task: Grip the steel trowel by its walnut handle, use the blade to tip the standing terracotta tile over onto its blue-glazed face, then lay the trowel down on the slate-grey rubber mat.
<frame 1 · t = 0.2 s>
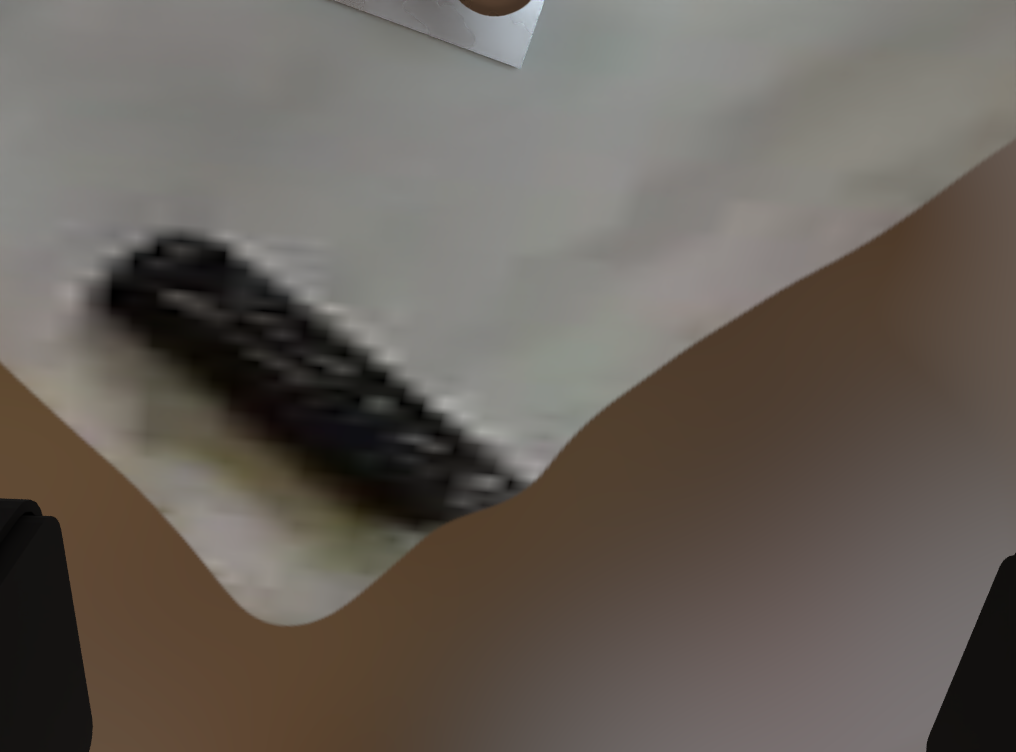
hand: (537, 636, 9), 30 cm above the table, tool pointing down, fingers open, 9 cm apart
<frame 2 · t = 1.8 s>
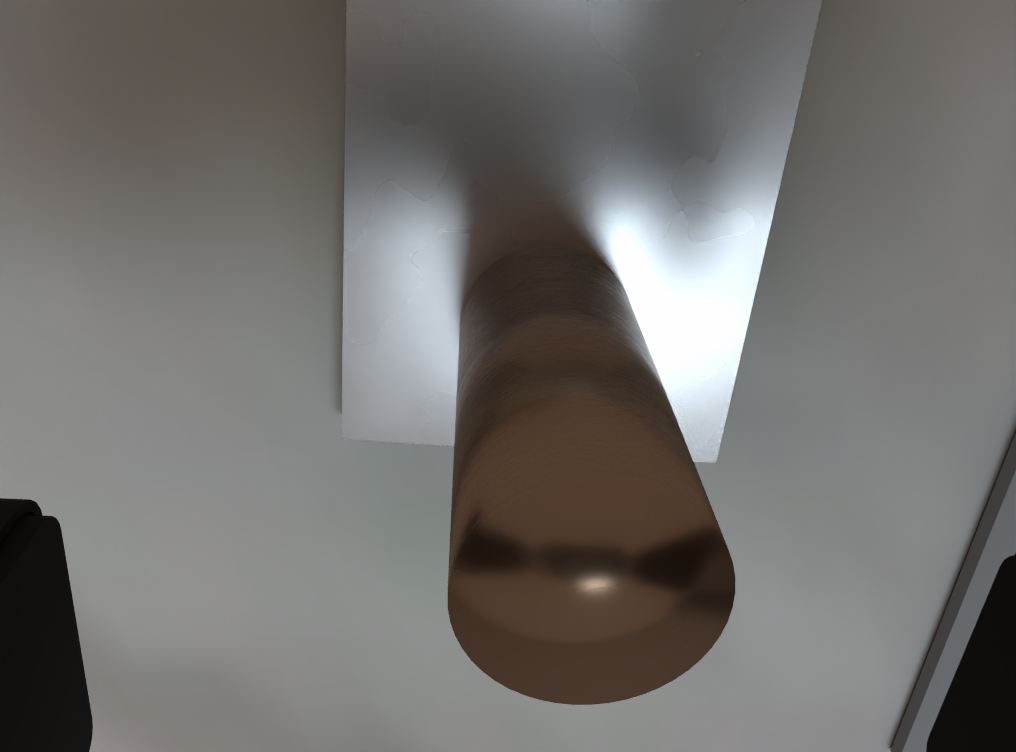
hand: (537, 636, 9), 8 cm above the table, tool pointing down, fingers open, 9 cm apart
trowel: (558, 170, 15), on the table
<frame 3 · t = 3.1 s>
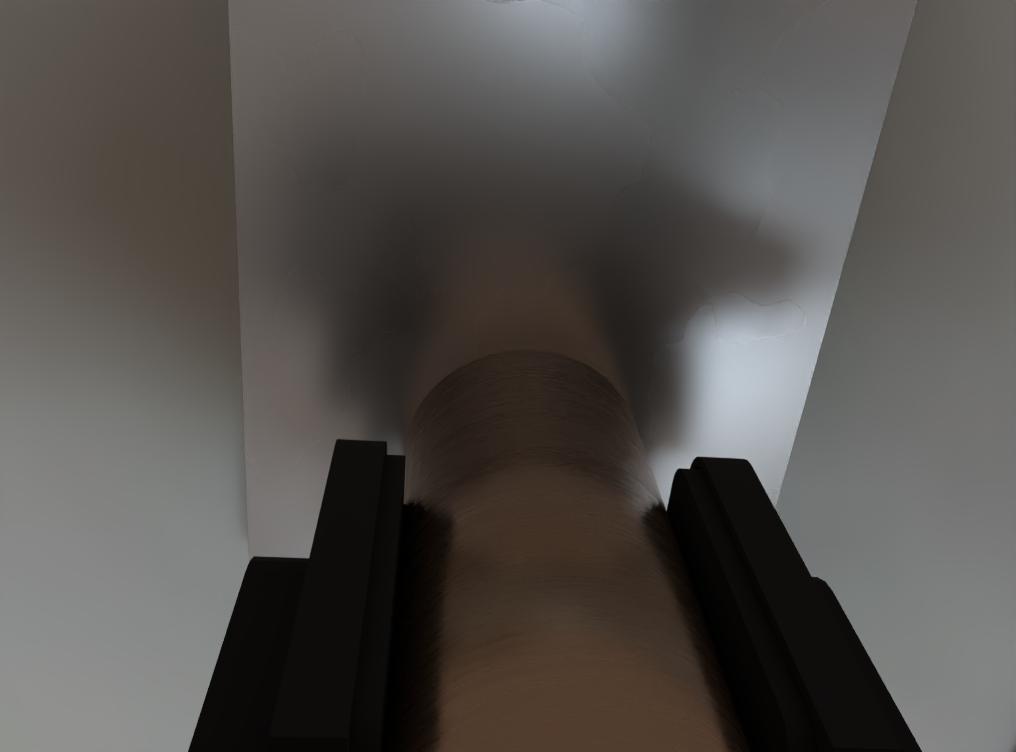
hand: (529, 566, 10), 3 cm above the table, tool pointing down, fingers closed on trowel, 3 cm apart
trowel: (538, 244, 11), on the table, touching gripper
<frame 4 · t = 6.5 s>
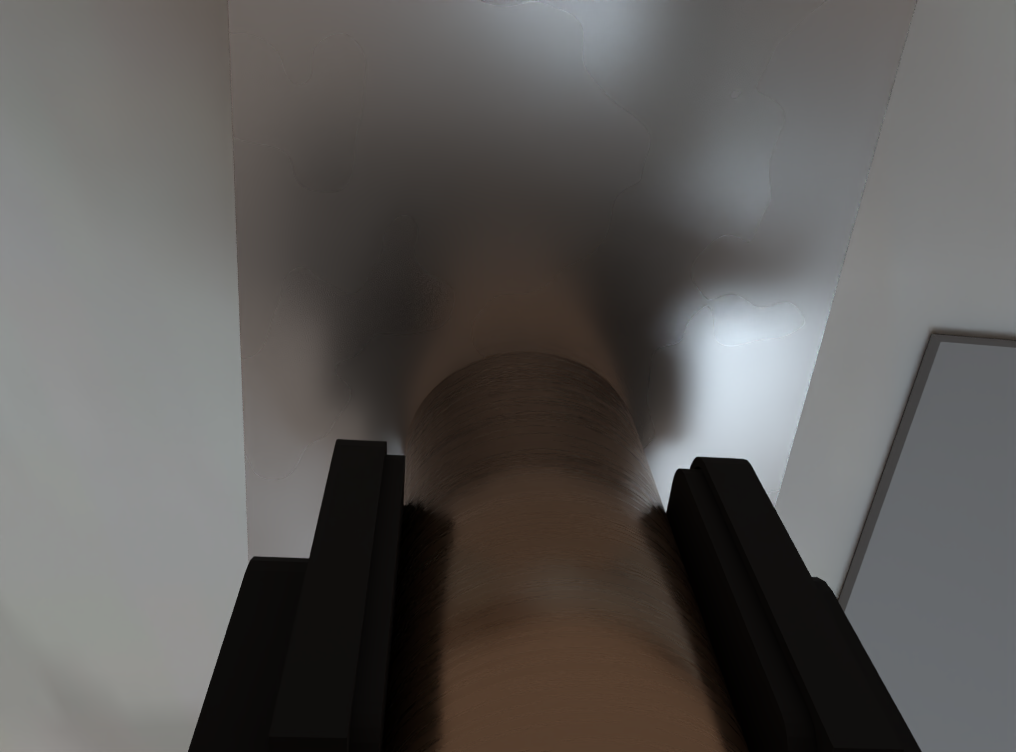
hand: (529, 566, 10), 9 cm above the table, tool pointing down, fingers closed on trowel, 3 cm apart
trowel: (537, 246, 11), point 6 cm above the table, touching gripper
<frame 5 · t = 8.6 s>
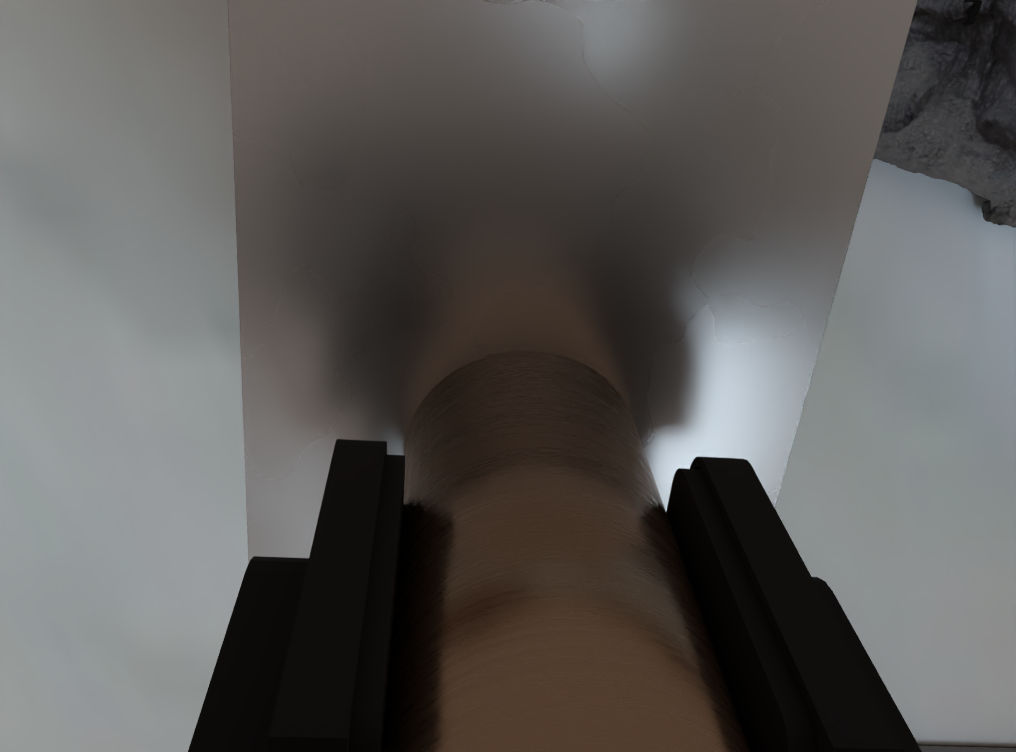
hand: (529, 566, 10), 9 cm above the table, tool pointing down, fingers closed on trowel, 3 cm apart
trowel: (537, 245, 11), point 6 cm above the table, touching gripper
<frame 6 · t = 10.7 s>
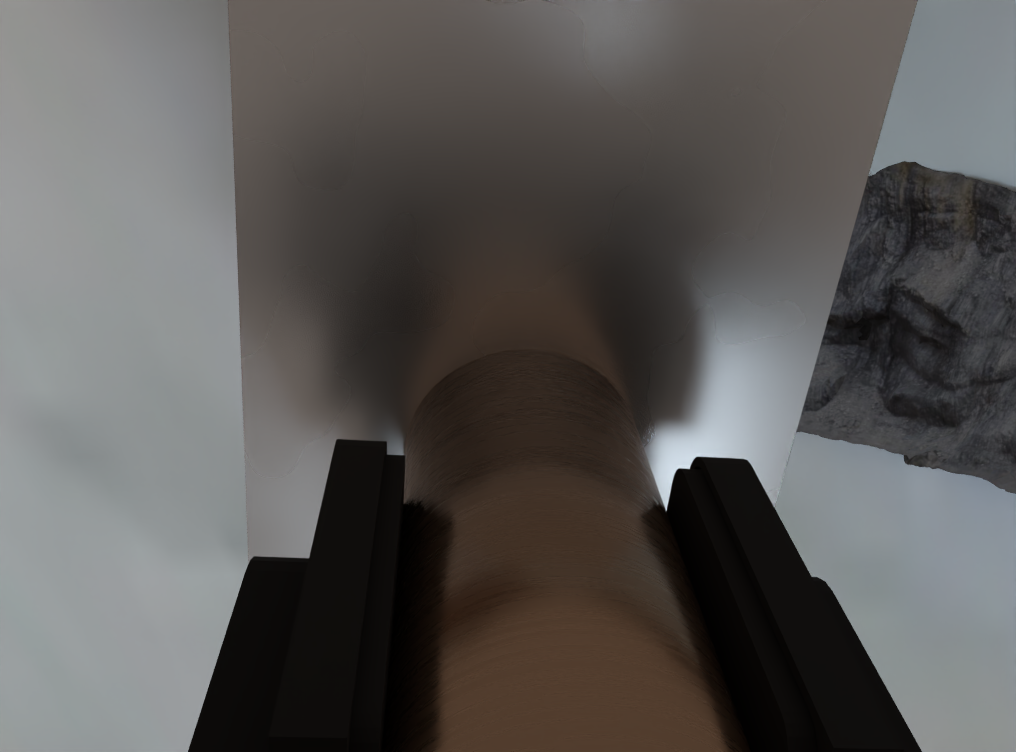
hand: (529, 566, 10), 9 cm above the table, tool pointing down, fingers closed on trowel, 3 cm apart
trowel: (538, 244, 11), point 6 cm above the table, touching gripper
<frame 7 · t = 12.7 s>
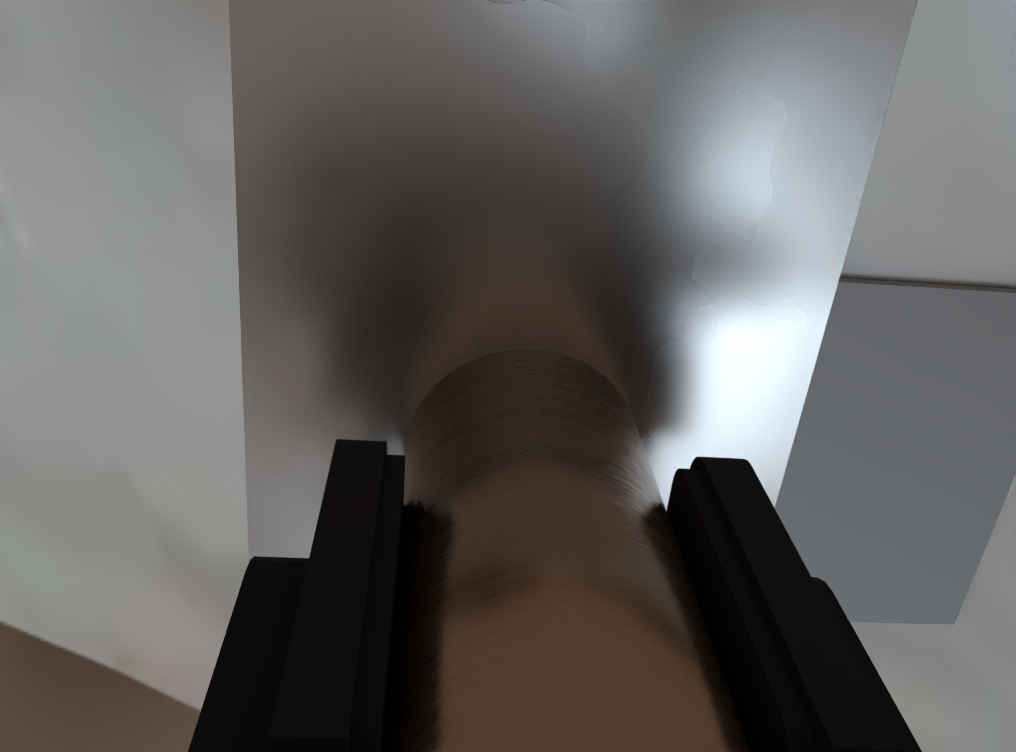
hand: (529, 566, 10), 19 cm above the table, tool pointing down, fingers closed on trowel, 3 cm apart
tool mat: (864, 464, 33), on the table
trowel: (538, 244, 11), point 16 cm above the table, touching gripper
when the fingers open (4 cm above the table, at t = 17.1 s): trowel drops 1 cm, resting on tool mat.
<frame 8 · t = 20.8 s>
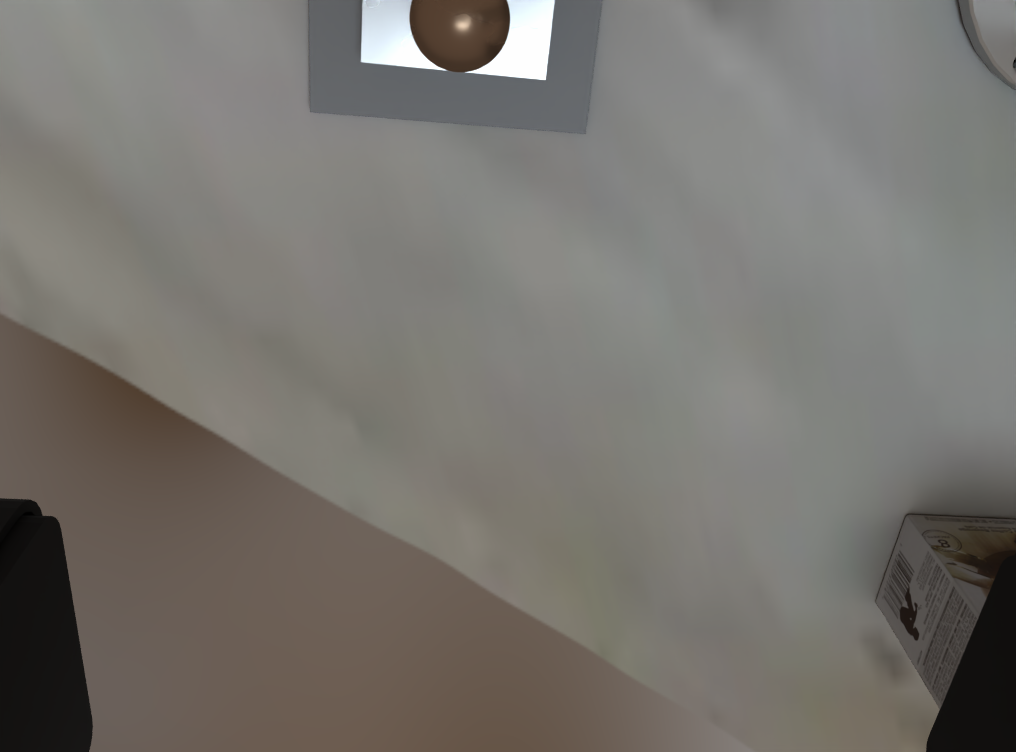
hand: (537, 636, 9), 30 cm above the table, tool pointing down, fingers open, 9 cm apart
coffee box: (966, 560, 49), on the table
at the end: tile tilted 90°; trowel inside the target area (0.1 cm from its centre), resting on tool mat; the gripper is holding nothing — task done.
